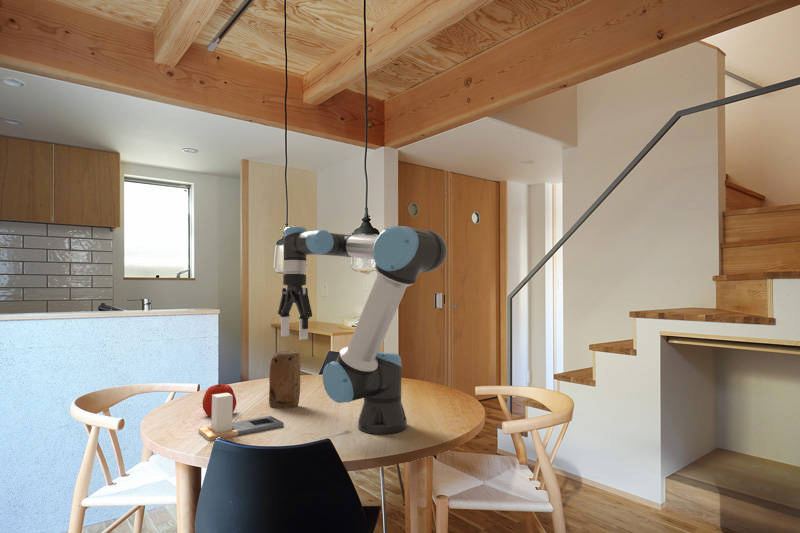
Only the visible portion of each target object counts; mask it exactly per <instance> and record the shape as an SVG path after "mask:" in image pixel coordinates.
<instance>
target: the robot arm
mask: <svg viewBox="0 0 800 533" xmlns="http://www.w3.org/2000/svg"><path fill="white" fill-rule="evenodd" d="M282 240H283V260H282V266H283V267H282V271H283V273H284V274H283V276H282V285H283V286H286V287H282V291H281V292H282V293H281V298H280V302H279V306H278V311H277V315H279V316H280V336H281V337H290V317H291V315H290V311H291V309H292V307H293V304H295V305H296V308H297V311H298V313H299V317H298V320H299V323H298V325H299V326H298V327H299V330H298V331H299V332H298V333H299V335H298V340H301V341H302V340H308V339H309V319H310V318H312V317H313V311H312V307H311V304H310V302H311V301H310V299H309V294H308V290H309V289H308V288H307V287H303V286H306V285H307V274H305V273H306V272H307V267H308V264H307V256H309V255H311V256H312V255H319V256H333V257H336V256H337V257H345V258H357V259H367V260H374V262H375V265H374V270H375V272H376V274H377V276H376V278H375V280H374V282H373V284H372V287H371V290H370V291H369V294H368V297H367V300H366V301H365V304H364V306H363V309H362V312H361V314H360V317H359V318H358V322H357V324H356V326H355V328H354V331H353V334H352V336H351V338H350V341H349V343H348V345H347V346H345V347H343V348H341V349H340V351H339V354H338V356H337V358H336V360H333V361H330V362H329V363H326V365H325V366H324V368H323V371H322V382H323V383H322V384H323V387H324V390H325V393H326V394H327V396H328V397H329V398H330V399H331V401H333V402H335V403H338V404H343V403H350V402H353V401H357V400H361V399H363V404H362V408H361V410H360V414H359V417H358V419H357V422H358V423H357V428H358V430H360V431H362V432H364V433H368V434H375V435H387V434H396V433H400V432H403V431H405V430H406V429H407V427H408V420H407V415H406V413H405V409H404V406H403V402H402V368H403V366H402V358H401V356H400V355H399V354H397V353H395V352H394V353H392V352H386V351H385V352H384V351H383V352H382V351H380V349H381V347H382V345H383V342H384V340H385V338H386V336H387V333H388V330H389V328H390V326H391V324H392V322H393V319H394V318H395V317H394V316H395V315H396V313H397V310H398V308H399V305H400V303H401V301H402V299H403V296H404V294H405V291H406V289H407V288H408V287H410V286H412V285H415V283H416V281H417V279H418V276H419V274H420V273H429V272H433V271H436V270H438V269H439V268H440V267H441V266H443V264H444V262H446V259H447V255H448V248H447V244H446V241H445V239H444V238H443V236H441V235H440V234H439V233H437V232H434V231H432V230H428V229H420V228H415V227H410V226H406V225H400V226H399V225H395V226H394V225H393V226H390V227H387V228H385V229H384V230H382V231H381V232H380V233H379V235H365V234H364V235H362V234H361V235H358V234H345V233H343V234H342V233H333V232H329V231H327V230H325V229H315V230H310V231H309V230H308V231H307V229H306V227H303V226H287V227H285V228H284V230H283V239H282Z"/></svg>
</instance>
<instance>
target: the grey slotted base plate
mask: <svg viewBox="0 0 800 533" xmlns="http://www.w3.org/2000/svg"><path fill="white" fill-rule="evenodd" d="M284 426H285V424H284V422H283V421H281V420H280V419H277V418H276V417H274V416H272V415H267V416H262V417H261V416H260V417H256V418H250V419H243V420H239V421H238V420H237V421H232V430H231V431H225V432H220V433H213V432H212V431H211V425H209V426H205V427H198V434H200V435H201V436H202V437H203V438H205V439H206V441H208V442H211V441H216V440H215V439H216V438H218V437H220V438H223V439H227V438H233V437H239V436H243V435H247V434H254V433H259V432H264V431H269V430H273V429H279V428H284Z"/></svg>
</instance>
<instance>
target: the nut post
mask: <svg viewBox="0 0 800 533" xmlns="http://www.w3.org/2000/svg"><path fill="white" fill-rule="evenodd" d="M232 410H233V395H231V394H229V393H221V394H214V395H212V417H211V425H210V426H211V431H212V432H213V433H220V432H225V431H231V430H232V422H233V413H232Z"/></svg>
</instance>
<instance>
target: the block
mask: <svg viewBox="0 0 800 533" xmlns="http://www.w3.org/2000/svg"><path fill="white" fill-rule="evenodd" d="M268 373H269V379H268V382H269V384H268V385H269V389H268V390H269V391H268V394H269V395H268V404H269V408H281V409H284V408H285V409H288V408H290V409H292V408H296V407H299V403H300V395H301V356H300V352H299V351H290V350H283V351H282V350H281V351H277V352H276V353H275V354H274V355H272V358H271V361H270V365H269V372H268Z"/></svg>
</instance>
